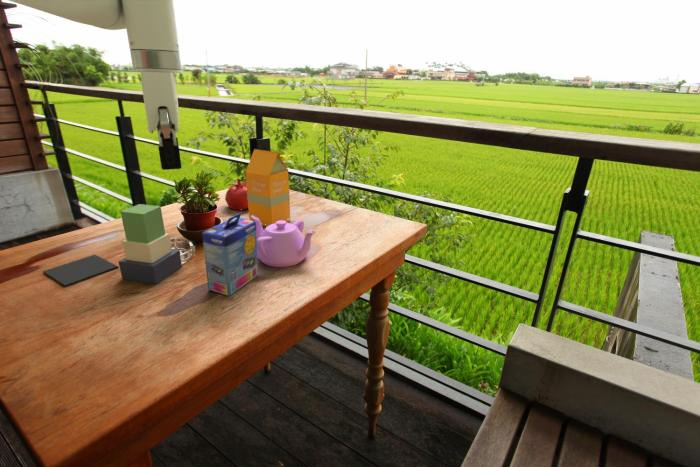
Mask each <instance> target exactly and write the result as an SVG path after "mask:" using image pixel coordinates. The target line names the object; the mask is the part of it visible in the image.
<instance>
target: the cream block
mask: <svg viewBox="0 0 700 467" xmlns="http://www.w3.org/2000/svg"><path fill="white" fill-rule="evenodd" d="M122 246H123V250H124V256H125V258H126V260H132V261H139V262H146V263H154V262H155V261H157V260H159V259H160V258H162V257H163V256H165V255H167V254H168V253H170V252H172V249H173V248H172V242H171V235H170V233H168V232H165V235H163V236H161V237H159V238H157V239H155V240H153V241H152V242H150V243H142V242H135V241H127V240H126V239H124V240H122Z"/></svg>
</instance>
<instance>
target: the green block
mask: <svg viewBox="0 0 700 467" xmlns="http://www.w3.org/2000/svg"><path fill="white" fill-rule="evenodd" d="M120 217H121V221H122V224H123V225H122V226H123V231H124V236H125V240H127V241H135V242H142V243H150V242H152V241H153V240H155V239H157V238H159V237H161V236H163V235H165V233H166V230H165V224H164V218H163V212H162V206H160V205H152V204H142V203H139V204H136V205H134V206H131V207H129V208H126V209H124V210H121V211H120Z"/></svg>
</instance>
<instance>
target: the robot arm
mask: <svg viewBox="0 0 700 467" xmlns="http://www.w3.org/2000/svg"><path fill="white" fill-rule="evenodd" d="M8 1H9V2H12V3H16V4H19V5H22V6H25V7H28V8H31V9H35V10H38V11H40V12H44V13H47V14H50V15H53V16H56V17H59V18H62V19H65V20H69V21H72V22H75V23H78V24H83V25H87V26H92V27H94V28H95V27H96V28H99V29H103V30H108V31H117V30H126V35H127V40H128V46H129V52H130V58H131V64H132V70H133V71H132V72H134V73H140V80H141V81H140V82H141V89H142V97H143V103H144V109H145V116H146V123H147V130H148V133H149V134H151V135H152V134H153V135H154V132H156V131H157V138H158V147H157V148H158V155H159V160H160V167H161V170H163V171H167V170H169V171H170V170H180V169H182V160H181V152H180V146H179V140H178V137H177V135H176V134H177V133H179V131H180V109H179V100H178V90H177V82H176V74H183V71H182V62H181V56H180V48H179V38H178V31H177V30H178V29H177V22H176V15H175V7H174V0H8Z"/></svg>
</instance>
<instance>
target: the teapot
mask: <svg viewBox="0 0 700 467" xmlns="http://www.w3.org/2000/svg"><path fill="white" fill-rule="evenodd" d="M251 217H252V218H253V220H254V221H256V237H257V259H258V260H259V261H260V262H262V263H263V264H264V265H265V266H266V265H267V266H268V267H273V268H288V267H293V266H296V265H297V264H299V263H301V262H302V261H303V260H304V259H305V258H306V257H307V255H308V253H309V252H310V251H311V247H312V246H311V245H312V244H311V243H312V241H311V240H312V236H313V235H314V234H315V233H317V230H316V231H315V230H312V231H310V230H309V231H307V232H306V234H305V235H303V232H304V226H305V223H304V220H303V219H297V220H295V221H294V222H293V223H291V222H286V221H283V220H280V221H276V223H275V224H271V225H269V226H265V228H263V225H261V222H260V220H259V219H258V218H257V217H256V216H254V215H251Z"/></svg>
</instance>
